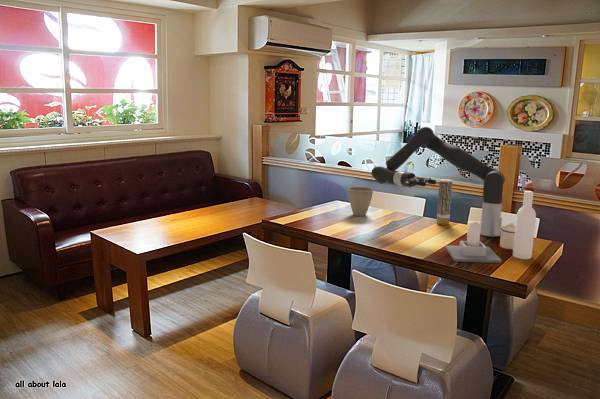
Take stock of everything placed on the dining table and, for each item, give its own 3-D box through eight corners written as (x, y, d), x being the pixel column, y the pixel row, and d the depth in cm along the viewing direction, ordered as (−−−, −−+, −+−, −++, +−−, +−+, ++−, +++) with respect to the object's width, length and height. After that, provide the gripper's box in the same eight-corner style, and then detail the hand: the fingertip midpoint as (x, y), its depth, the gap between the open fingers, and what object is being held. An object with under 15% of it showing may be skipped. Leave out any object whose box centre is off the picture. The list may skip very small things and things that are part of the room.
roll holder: (488, 249, 236) (489, 238, 234) (501, 263, 216) (502, 251, 215) (445, 247, 237) (445, 237, 236) (454, 261, 218) (455, 250, 216)
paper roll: (476, 250, 229) (479, 220, 226) (479, 254, 224) (482, 223, 221) (464, 250, 229) (467, 220, 226) (467, 254, 224) (470, 223, 221)
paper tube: (449, 225, 277) (452, 181, 272) (436, 224, 279) (439, 180, 274) (448, 222, 284) (451, 179, 279) (436, 221, 285) (439, 178, 280)
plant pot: (373, 217, 293) (374, 191, 290) (348, 217, 293) (349, 191, 290) (370, 212, 308) (371, 186, 304) (346, 211, 308) (347, 186, 304)
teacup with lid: (516, 251, 233) (519, 226, 231) (496, 247, 238) (499, 223, 236) (523, 245, 243) (525, 221, 240) (503, 241, 248) (505, 218, 245)
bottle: (526, 253, 229) (533, 189, 223) (534, 259, 221) (542, 193, 215) (509, 253, 229) (515, 189, 222) (517, 259, 221) (524, 193, 215)
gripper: (396, 173, 255) (422, 177, 243) (413, 170, 264) (439, 174, 252) (395, 187, 256) (421, 192, 244) (412, 184, 265) (438, 189, 253)
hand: (430, 183), depth 248 cm, fingers open, 8 cm apart
